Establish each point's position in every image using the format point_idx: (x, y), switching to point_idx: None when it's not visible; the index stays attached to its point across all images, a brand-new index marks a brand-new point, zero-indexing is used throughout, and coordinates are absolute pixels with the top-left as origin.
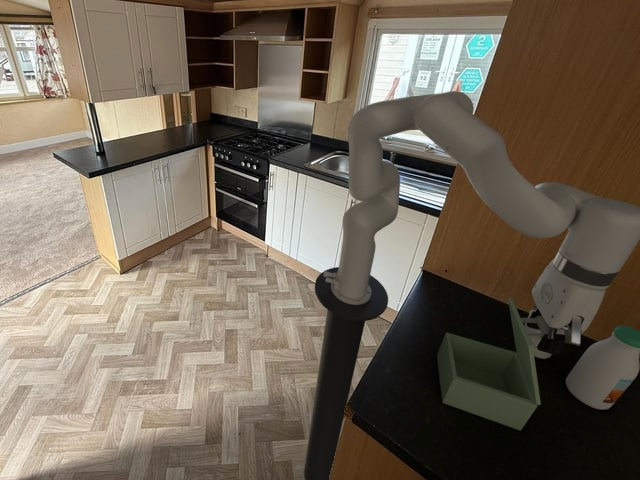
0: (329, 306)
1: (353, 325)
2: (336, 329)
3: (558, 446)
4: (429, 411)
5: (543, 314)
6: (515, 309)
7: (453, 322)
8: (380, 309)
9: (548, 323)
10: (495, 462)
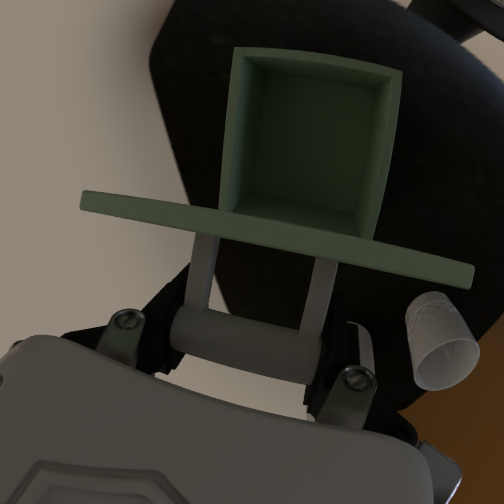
0: None
1: None
2: None
3: (237, 247)
4: (234, 43)
5: (98, 376)
6: (370, 259)
7: (483, 173)
8: (468, 6)
9: (36, 338)
10: (180, 135)
